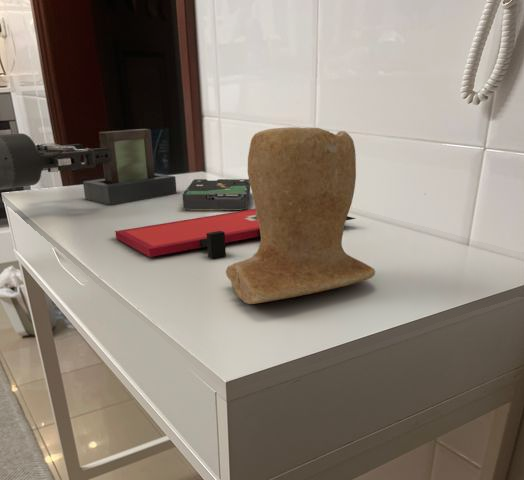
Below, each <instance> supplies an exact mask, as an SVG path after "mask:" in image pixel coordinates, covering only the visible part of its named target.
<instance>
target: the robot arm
mask: <svg viewBox="0 0 524 480" xmlns="http://www.w3.org/2000/svg"><path fill="white" fill-rule="evenodd" d="M82 159H83V161H82ZM111 161H112V152H111V149H110V148H101V147H98V148H97V147H96V148H89V147H85V148H84V145H83V144H81V143H74V144H73V143H72V144H64V145H63V144H62V145H61V144H58V143H53V142H51V143H50V142H49V143H48V142H47V143H35V142H34V140H33V139H32V138H31V137H30V136H29V135H28V134H25V133H9V134H0V190H9V189H16V188H24V187H29V186H35V185H37V184H38V183H39V182H40V180H41V177H42V172H44V171H47V172H48V173H58V172H63V173H64V172H66V171H75V170H84V169H94V168H96V165H99V164H103V163H108V162H111Z"/></svg>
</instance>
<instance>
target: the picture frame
mask: <svg viewBox="0 0 524 480" xmlns="http://www.w3.org/2000/svg"><path fill="white" fill-rule="evenodd" d="M98 135H99V136H98V137H99V145H100V148H110V149H111V152H112V161H111V162H108V163H102V168H103V175H104V179H105V183H106V184H114V183H120V182H127V181H134V180H141V179H147V178H154V177H155V174H154V173H155V163H154V153H153V142H152V131H151V129H150V128H135V129H123V130H110V131H98Z"/></svg>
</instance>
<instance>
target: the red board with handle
mask: <svg viewBox="0 0 524 480" xmlns="http://www.w3.org/2000/svg"><path fill="white" fill-rule="evenodd" d="M355 219H357V218H356V217H352V216H348V215H347V218H346V221H351V220H355ZM114 233H115V239H116V240H119V241H120V242H122V243H124V244H126V245H127V246H129V247H130V248H133V249H134V250H137V251H138V252H140V253H141V254H143V255H145V256H147V257H149V258H151V257H153V258H154V257H157V256H162V255H168V254H173V253H179V252H184V251H188V250H194V249H200V248H201V249H202V248H207V257H208V258H209V259H211V260H213V259H218V258H221V257H222V258H223V257H226V256H227V251H226V249H227V248H226V243H232V242H237V241H243V240H247V239H252V238H258V237H261V235H260V228H259V223H258V218H257V212H256V208H252V209H243V210H239V211H232V212H226V213H220V214H213V215H208V216H202V217H201V216H200V217H196V218H195V217H194V218H188V219H183V220H182V219H181V220H175V221H170V222H163V223H157V224H151V225H146V226H145V225H144V226H139V227H132V228H126V229H119V230H115V231H114Z"/></svg>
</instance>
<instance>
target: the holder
mask: <svg viewBox="0 0 524 480" xmlns="http://www.w3.org/2000/svg"><path fill="white" fill-rule="evenodd" d="M154 174H155V177H154V178H147V179H141V180H134V181H127V182H120V183H114V184H106V183H105V178H99V179H98V178H97V179H91V180H85V181H82V184H83V192H84V198H85V200H87V201H92V202H96V203H100V204H103V205H104V204H105V205H108V206H112V205H119V204H123V203H130V202H134V201H141V200H145V199H152V198H157V197H158V198H159V197H164V196H169V195H176V194H177V179H176V176H175V175H170V174H169V175H168V174H163V173H157V172H154Z"/></svg>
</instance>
